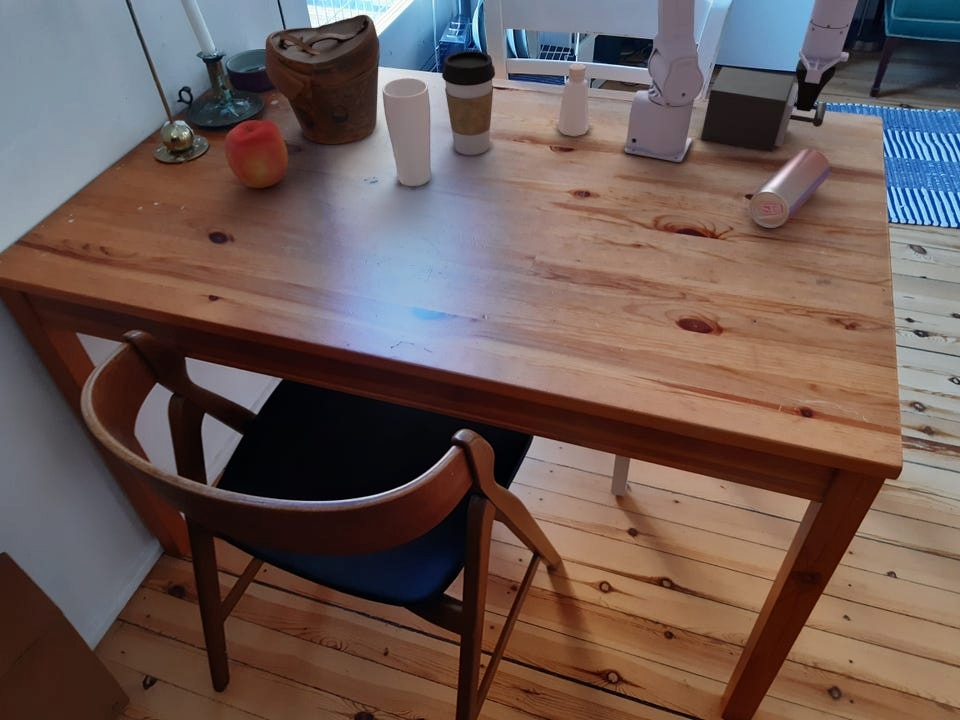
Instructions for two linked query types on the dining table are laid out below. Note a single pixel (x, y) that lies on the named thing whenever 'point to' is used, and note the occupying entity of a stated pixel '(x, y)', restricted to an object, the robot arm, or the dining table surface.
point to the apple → (256, 153)
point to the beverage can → (789, 188)
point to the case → (328, 77)
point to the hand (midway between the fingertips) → (803, 109)
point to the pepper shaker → (574, 103)
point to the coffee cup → (469, 99)
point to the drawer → (787, 115)
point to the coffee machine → (746, 108)
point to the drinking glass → (409, 128)
